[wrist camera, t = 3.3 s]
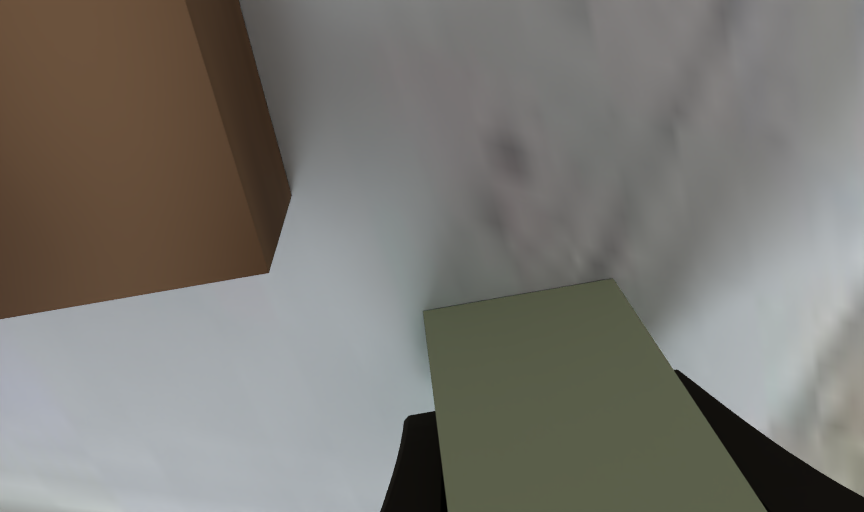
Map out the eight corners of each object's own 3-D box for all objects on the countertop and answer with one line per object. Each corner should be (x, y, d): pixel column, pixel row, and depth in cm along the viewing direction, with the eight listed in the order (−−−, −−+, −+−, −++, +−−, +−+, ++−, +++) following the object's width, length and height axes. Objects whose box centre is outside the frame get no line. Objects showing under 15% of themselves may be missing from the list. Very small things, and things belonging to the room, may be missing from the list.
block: (449, 452, 16) (499, 810, 9) (422, 310, 14) (463, 639, 7) (617, 424, 16) (779, 762, 9) (612, 278, 14) (812, 579, 7)
